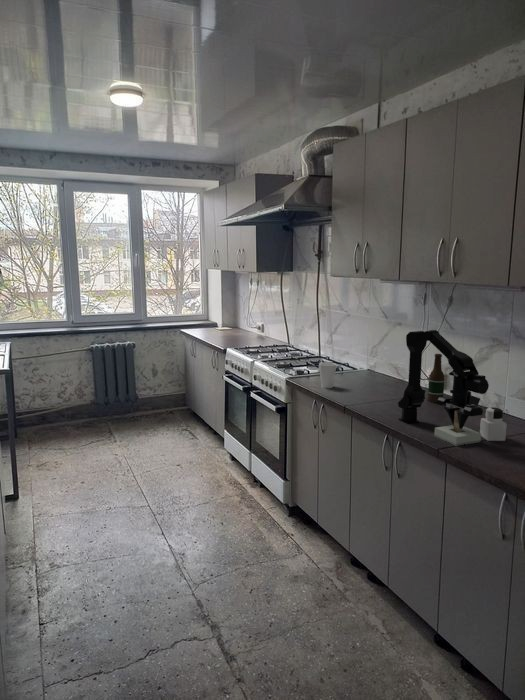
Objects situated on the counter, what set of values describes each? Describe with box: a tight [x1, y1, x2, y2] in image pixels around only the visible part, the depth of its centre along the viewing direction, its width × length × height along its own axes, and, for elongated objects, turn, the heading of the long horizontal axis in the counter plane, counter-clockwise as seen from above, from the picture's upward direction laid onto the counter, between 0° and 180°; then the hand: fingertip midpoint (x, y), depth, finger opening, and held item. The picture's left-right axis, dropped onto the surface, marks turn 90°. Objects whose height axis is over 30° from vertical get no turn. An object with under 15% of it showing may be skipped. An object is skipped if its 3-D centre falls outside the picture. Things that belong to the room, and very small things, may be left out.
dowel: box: [453, 409, 462, 433], centre depth 200 cm, size 3×3×9 cm
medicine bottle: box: [479, 407, 508, 442], centre depth 201 cm, size 7×7×12 cm
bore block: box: [434, 424, 482, 447], centre depth 200 cm, size 12×12×4 cm
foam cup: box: [318, 361, 337, 389], centre depth 283 cm, size 10×9×13 cm
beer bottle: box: [427, 353, 445, 404], centre depth 253 cm, size 8×8×24 cm
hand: (457, 427), depth 200 cm, fingers closed on dowel, 3 cm apart
